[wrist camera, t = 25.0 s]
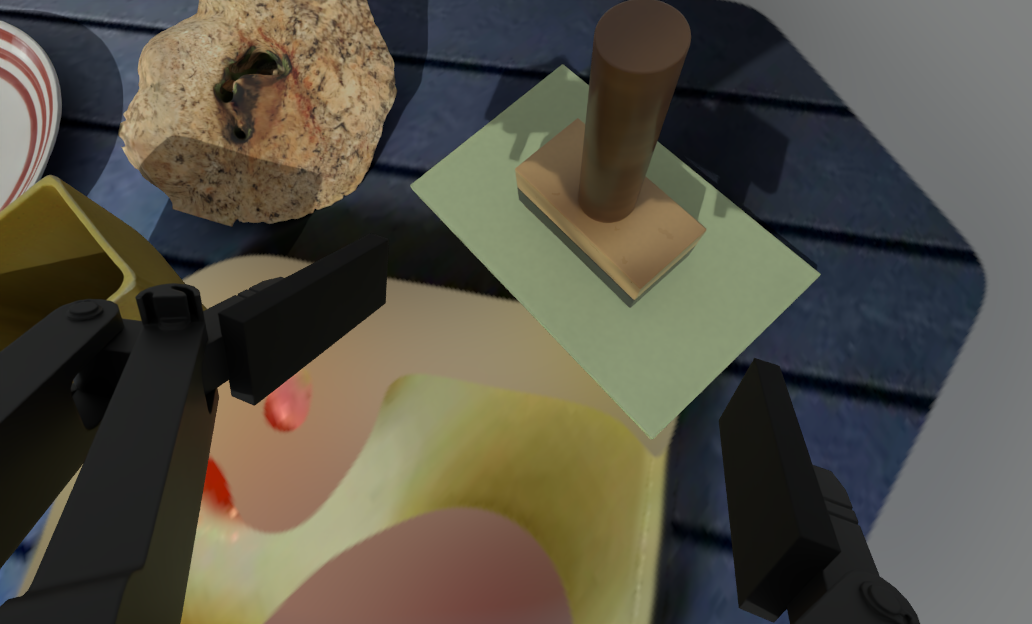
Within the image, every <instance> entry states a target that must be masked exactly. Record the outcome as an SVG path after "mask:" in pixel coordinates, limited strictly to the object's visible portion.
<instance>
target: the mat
mask: <svg viewBox="0 0 1032 624" xmlns="http://www.w3.org/2000/svg"><path fill="white" fill-rule="evenodd" d="M588 93H589V85H588V84H586V83H585V82H584V81H583V80H581V79H580V78H579V77H578V76H577V75H575V74H574V73H573V72H572V71H570V70H569V69H568V68H567V67H565V66H564V65H563V64H562V65H561V66H560V67H558V68H557V69H556V70H555V71H553V72H552V73H551V74H550V75H548V76H547V77H546V78H545V79H543V80H542V81H541V82H540V83H538V84H537V85H536V86H535V87H533V88H532V89H531V90H530V91H528V92H527V93H526V94H525V95H523V96H522V97H521V98H519V99H518V100H517V101H516V102H514V103H513V104H512V105H511V106H509V107H508V108H507V109H506V110H504V111H503V112H502V113H501V114H499V115H498V116H497V117H496V118H494V119H493V120H492V121H491V122H489V123H488V124H487V125H486V126H484V127H483V128H482V129H481V130H479V131H478V132H477V133H476V134H474V135H473V136H472V137H470V138H469V139H468V140H467V141H465V142H464V143H463V144H462V145H460V146H459V147H458V148H457V149H455V150H454V151H453V152H452V153H450V154H449V155H448V156H447V157H445V158H444V159H443V160H442V161H440V162H439V163H438V164H437V165H435V166H434V167H433V168H432V169H430V170H429V171H428V172H426V173H425V174H424V175H423V176H421V177H420V178H419V179H418V180H416V181H415V182H414V183H413V184H411V185H410V186H411V188H412V190H413V191H414V192H415V193H416V194H417V195H418V196H419V197H420V198H421V199H422V200H423V201H424V202H425V203H426V205H427V206H428V207H429V208H430V209H431V210H432V211H433V212H434V213H435V214H436V215H437V216H438V217H439V218H440V219H441V220H442V221H443V222H444V223H445V224H446V225H447V227H448V228H449V229H450V230H451V231H452V232H453V233H454V234H455V235H456V236H457V237H458V238H459V239H460V240H461V241H462V242H463V243H464V244H465V245H466V246H467V247H468V249H469V250H470V251H471V252H472V253H473V254H474V255H475V256H476V257H477V258H478V259H479V260H480V261H481V262H482V263H483V264H484V265H485V266H486V267H487V268H488V269H489V271H490V272H491V273H492V274H493V275H494V276H495V277H496V278H497V279H498V280H499V281H500V282H501V283H502V284H503V285H504V286H505V287H506V288H507V289H508V290H509V291H510V293H511V294H512V295H513V296H514V297H515V298H516V299H517V300H518V301H519V302H520V303H521V304H522V305H523V306H524V307H525V308H526V309H527V310H528V311H529V312H530V313H531V315H532V316H533V317H534V318H535V319H536V320H537V321H538V322H539V323H540V324H541V325H542V326H543V327H544V328H545V329H546V330H547V331H548V332H549V333H550V334H551V335H552V337H553V338H554V339H555V340H556V341H557V342H558V343H559V344H560V345H561V346H562V347H563V348H564V349H565V350H566V351H567V352H568V353H569V354H570V355H571V356H572V357H573V359H574V360H575V361H576V362H577V363H578V364H579V365H580V366H581V367H582V368H583V369H584V370H585V371H586V372H587V373H588V374H589V375H590V376H591V377H592V378H593V379H594V380H595V381H596V382H597V384H598V385H599V386H600V387H602V389H603V390H604V391H605V392H606V393H607V394H608V395H609V396H610V397H611V398H612V399H613V400H614V401H615V402H616V403H617V405H618V406H619V407H620V408H621V409H622V410H623V411H624V412H625V413H626V414H627V415H628V416H629V417H630V418H631V419H632V420H633V421H634V422H635V423H636V424H637V426H638V427H639V428H640V429H642V431H643V432H644V433H645V434H646V435H647V436H648V437H649V438H650V439H654V438H655V437H656V435H658V434H659V433H660V432H661V431H662V430H663V429H664V428H665V427H666V426H667V425H668V424H669V423H670V422H671V421H672V420H673V419H674V418H675V417H676V416H677V415H678V414H679V413H680V412H681V411H682V410H683V409H684V408H685V407H686V406H687V405H688V404H689V403H690V402H691V401H692V400H694V399H695V398H696V397H697V396H698V395H699V394H700V393H701V392H702V391H703V390H704V389H705V388H706V387H707V386H708V385H709V384H710V383H711V382H712V381H713V380H714V379H715V378H716V377H717V376H718V375H719V374H720V373H721V372H722V371H723V370H724V369H725V368H726V367H727V366H728V365H729V364H730V363H731V362H732V361H733V360H734V359H735V358H736V357H737V356H738V355H739V354H740V353H742V352H743V351H744V350H745V349H746V348H747V347H748V346H749V345H750V344H751V343H752V342H753V341H754V340H755V339H756V338H757V337H758V336H759V335H760V334H761V333H762V332H763V331H764V330H765V329H766V328H767V327H768V326H769V325H770V324H771V323H772V322H773V321H774V320H775V319H776V318H777V317H778V316H779V315H780V314H781V313H782V312H783V311H784V310H785V309H786V308H787V307H788V306H790V305H791V304H792V303H793V302H794V301H795V300H796V299H797V298H798V297H799V296H800V295H801V294H802V293H803V292H804V291H805V290H806V289H807V288H808V287H809V286H810V285H811V284H812V283H813V282H814V281H815V280H816V279H817V278H818V277H819V276H820V275H821V274H820V273H818V272H817V271H816V270H815V269H814V268H812V267H811V266H810V265H809V264H807V263H806V262H805V261H804V260H803V259H801V258H800V257H799V256H798V255H796V254H795V253H794V252H793V251H791V250H790V249H789V248H788V247H787V246H785V245H784V244H783V243H782V242H780V241H779V240H778V239H777V238H776V237H774V236H773V235H772V234H771V233H769V232H768V231H767V230H766V229H764V228H763V227H762V226H761V225H760V224H758V223H757V222H756V221H755V220H753V219H752V218H751V217H750V216H748V215H747V214H746V213H745V212H744V211H742V210H741V209H740V208H739V207H737V206H736V205H735V204H734V203H733V202H731V201H730V200H729V199H728V198H726V197H725V196H724V195H723V194H721V193H720V192H719V191H718V190H717V189H715V188H714V187H713V186H712V185H710V184H709V183H708V182H707V181H706V180H704V179H703V178H702V177H701V176H699V175H698V174H697V173H696V172H694V171H693V170H692V169H691V168H690V167H688V166H687V165H686V164H685V163H683V162H682V161H681V160H680V159H678V158H677V157H676V156H675V155H674V154H672V153H671V152H670V151H669V150H667V149H666V148H665V147H664V146H663V145H661V144H660V143H659V142H658V141H657V144H656V147H655V149H654V152H653V155H652V158H651V161H650V164H649V167H648V170H647V173H646V177H647V178H648V179H649V180H651V181H652V182H653V183H654V184H655V185H656V186H658V187H659V188H660V189H661V190H662V191H663V192H664V193H666V194H667V195H668V196H669V197H670V198H671V199H673V200H674V201H675V202H676V203H677V204H678V205H680V206H681V207H682V208H683V209H684V210H685V211H686V212H688V213H689V214H690V215H691V216H692V217H693V218H695V219H696V220H697V221H698V222H699V223H700V224H702V225H703V226H704V227H705V228H706V229H707V230H706V232H705V233H704V234H703V236H702V237H701V239H700V240H699V242H698V243H697V244H696V246H695V247H694V249H693V250H692V252H691V253H690V254H689V256H688V257H687V258H685V259H684V260H683V261H682V262H681V263H680V264H679V265H678V266H677V267H675V268H674V269H673V270H672V271H671V272H670V273H669V274H668V275H667V276H665V277H664V278H663V279H662V280H661V281H660V282H659V283H658V284H657V285H655V286H654V287H653V288H652V289H651V290H650V291H649V292H648V293H647V294H645V295H644V296H643V297H642V298H641V299H640V300H639V301H638V302H637V303H635V304H634V305H633V306H632V307H631V308H629V307H628V306H627V305H626V304H625V303H624V302H623V301H622V300H621V299H620V298H619V297H618V296H617V295H616V294H615V293H614V292H613V291H612V290H611V289H610V288H609V287H608V286H607V285H606V284H605V283H604V282H603V281H602V280H601V279H600V278H598V277H597V276H596V275H595V274H594V273H593V272H592V271H591V270H590V269H589V268H588V267H587V266H586V265H585V264H584V263H583V262H582V261H581V260H580V259H579V258H578V257H577V256H576V255H575V254H574V253H573V252H572V251H571V250H570V249H569V248H568V247H567V246H566V245H565V244H564V243H563V242H562V241H561V240H560V239H559V238H558V237H557V236H556V235H555V234H554V233H553V232H551V231H550V230H549V229H548V228H547V227H546V226H545V225H544V224H543V223H542V222H541V221H540V220H539V219H538V218H537V217H536V216H535V215H534V214H533V213H532V212H531V211H530V210H529V209H528V208H527V207H526V206H525V205H524V204H523V203H522V202H521V201H520V200H519V196H518V189H517V188H518V187H517V181H516V173H515V168H516V167H517V166H519V165H520V164H521V163H522V162H524V161H525V160H526V159H527V158H529V157H530V156H531V155H532V154H534V153H535V152H536V151H537V150H539V149H540V148H541V147H542V146H543V145H545V144H546V143H547V142H548V141H550V140H551V139H552V138H553V137H555V136H556V135H557V134H558V133H560V132H561V131H562V130H563V129H565V128H566V127H567V126H568V125H569V124H571V123H572V122H573V121H574V120H576V119H577V118H579V119H580V120H581V121H582V122H583V123H586V113H587V103H588Z"/></svg>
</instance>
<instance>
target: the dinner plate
mask: <svg viewBox="0 0 1032 624" xmlns="http://www.w3.org/2000/svg"><path fill="white" fill-rule="evenodd" d="M61 113H62V98H61V89H60V85H59V80H58V76H57V73H56V71H55V68H54V66H53V64H52V62H51V60H50V58H49V56H48V55H47V54H46V52H45V51H44V50H43V48H42V47H41V46H40V45H39V44H38V43H37V42H36V41H35V40H34V39H33V38H32V37H30V36H29V35H27V34H26V33H25V32H23V31H21V30H20V29H18V28H16V27H15V26H12V25H10V24H8V23H6V22H3V21H0V212H1V211H2V210H3V209H4V208H6V207H7V206H8V205H9V204H10V203H12V202H13V201H14V200H16V199H17V198H18V197H19V196H21V195H22V194H23V193H24V192H26V191H27V190H28V189H29V188H30V187H32V186H33V185H34V184H36V183H37V182H38V181H40V179H41V177H42V175H43V173H44V170H45V168H46V166H47V163H48V160H49V157H50V155H51V152H52V150H53V148H54V145H55V142H56V138H57V135H58V131H59V125H60V120H61Z"/></svg>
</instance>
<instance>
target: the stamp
mask: <svg viewBox="0 0 1032 624" xmlns="http://www.w3.org/2000/svg"><path fill="white" fill-rule="evenodd" d="M690 42H691V32H690V27H689V24H688V22H687V20H686V19H685V17H684V16H683V15H682V14H681V13H680V12H679V11H678V10H677V9H675V8H674V7H672V6H671V5H669V4H666V3H664V2H661V1H657V0H629V1H625V2H622V3H620V4H618V5H616V6H614V7H612V8H611V9H609V10H608V11H607V12H606V13H605V14H604V15H603V16H602V17H601V19H600V20H599V22H598V24H597V26H596V29H595V33H594V42H593V53H592V63H591V73H590V83H589V93H588V103H587V113H586V123H583V122H582V121H581V120H580V119H579V118H577V119H576V120H574V121H573V122H572V123H571V124H569V125H568V126H567V127H566V128H565V129H563V130H562V131H561V132H560V133H558V134H557V135H556V136H555V137H553V138H552V139H551V140H550V141H548V142H547V143H546V144H545V145H543V146H542V147H541V148H540V149H539V150H537V151H536V152H535V153H534V154H532V155H531V156H530V157H529V158H527V159H526V160H525V161H524V162H522V163H521V164H520V165H519V166H517V167H516V168H515V173H516V181H517V187H518V188H517V189H518V196H519V200H520V201H521V202H522V203H523V204H524V205H525V206H526V207H527V208H528V209H529V210H530V211H531V212H532V213H533V214H534V215H535V216H536V217H537V218H538V219H539V220H540V221H541V222H542V223H543V224H544V225H545V226H546V227H547V228H548V229H549V230H550V231H551V232H553V233H554V234H555V235H556V236H557V237H558V238H559V239H560V240H561V241H562V242H563V243H564V244H565V245H566V246H567V247H568V248H569V249H570V250H571V251H572V252H573V253H574V254H575V255H576V256H577V257H578V258H579V259H580V260H581V261H582V262H583V263H584V264H585V265H586V266H587V267H588V268H589V269H590V270H591V271H592V272H593V273H594V274H595V275H596V276H597V277H598V278H600V279H601V280H602V281H603V282H604V283H605V284H606V285H607V286H608V287H609V288H610V289H611V290H612V291H613V292H614V293H615V294H616V295H617V296H618V297H619V298H620V299H621V300H622V301H623V302H624V303H625V304H626V305H627V306H628V307H629V308H631V307H632V306H633V305H634V304H635V303H637V302H638V301H639V300H640V299H641V298H642V297H643V296H644V295H645V294H647V293H648V292H649V291H650V290H651V289H652V288H653V287H654V286H655V285H657V284H658V283H659V282H660V281H661V280H662V279H663V278H664V277H665V276H667V275H668V274H669V273H670V272H671V271H672V270H673V269H674V268H675V267H677V266H678V265H679V264H680V263H681V262H682V261H683V260H684V259H685V258H687V257H688V256H689V254H690V253H691V252H692V250H693V249H694V247H695V246H696V244H697V243H698V242H699V240H700V239H701V237H702V236H703V234H704V233H705V232H706V230H707V229H706V228H705V227H704V226H703V225H702V224H700V223H699V222H698V221H697V220H696V219H695V218H693V217H692V216H691V215H690V214H689V213H688V212H686V211H685V210H684V209H683V208H682V207H681V206H680V205H678V204H677V203H676V202H675V201H674V200H673V199H671V198H670V197H669V196H668V195H667V194H666V193H664V192H663V191H662V190H661V189H660V188H659V187H658V186H656V185H655V184H654V183H653V182H652V181H651V180H649V179H648V178H647V177H646V173H647V170H648V167H649V164H650V161H651V158H652V155H653V152H654V149H655V147H656V144H657V141H658V138H659V135H660V132H661V129H662V126H663V123H664V120H665V117H666V114H667V111H668V108H669V105H670V102H671V99H672V96H673V94H674V91H675V88H676V85H677V82H678V79H679V76H680V73H681V70H682V67H683V64H684V61H685V58H686V55H687V52H688V49H689V46H690Z"/></svg>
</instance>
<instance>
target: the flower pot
mask: <svg viewBox="0 0 1032 624" xmlns="http://www.w3.org/2000/svg"><path fill="white" fill-rule="evenodd" d="M171 283H178V284H185V283H184V282H183V281H182V279H181V278H180V277H179V276H178V275H177V273H176V272H175V271H174V270H173V269H172V267H171V266H170V265H169V264H168V262H167V261H166V260H165V259H164V258H163V256H162V255H161V254H160V253H159V252H158V251H157V250H156V249H155V248H154V247H153V246H152V245H151V244H150V243H149V242H148V241H147V240H146V239H145V238H144V237H143V236H142V235H141V234H139V233H138V232H137V231H136V230H134V229H133V228H132V227H130V226H129V225H127V224H126V223H124V222H123V221H122V220H120V219H119V218H117V217H116V216H114V215H113V214H111V213H110V212H108V211H107V210H105V209H104V208H102V207H101V206H99V205H98V204H97V203H95V202H94V201H92V200H91V199H89V198H88V197H86V196H85V195H83V194H82V193H80V192H79V191H77V190H76V189H74V188H73V187H71V186H70V185H68V184H67V183H65V182H64V181H63V180H61V179H60V178H58V177H56V176H53V175H48V176H46V177H44V178H43V179H41V180H40V181H38V182H37V183H36V184H34V185H33V186H32V187H30V188H29V189H28V190H27V191H26V192H24V193H23V194H22V195H21V196H19V197H18V198H17V199H16V200H14V201H13V202H12V203H10V204H9V205H8V206H7V207H6V208H4V209H3V210H2V211H1V212H0V352H1V351H2V350H3V349H4V348H6V347H7V346H8V345H10V344H11V343H12V342H14V341H15V340H16V339H17V338H19V337H20V336H21V335H23V334H24V333H25V332H27V331H28V330H29V329H30V328H32V327H33V326H34V325H36V324H37V323H38V322H40V321H41V320H42V319H43V318H45V317H46V316H47V315H49V314H50V313H51V312H53V311H54V310H56V309H57V308H59V307H61V306H63V305H66V304H69V303H72V302H74V301H78V300H84V299H103V300H109V301H112V302H114V303H116V304H118V307H119V310H120V314H121V317H122V319H130V320H138V321H142V320H141V317H140V313H139V309H138V306H137V302H136V298H135V297H136V296H137V295H138V294H139V293H140V292H141V291H143V290H145V289H147V288H149V287H153V286H157V285H161V284H171ZM202 308H203V311H205V310H207V309H206V307H205V306H204V305H203V304H202ZM73 382H74V381H73ZM73 382H72V383H73Z"/></svg>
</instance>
